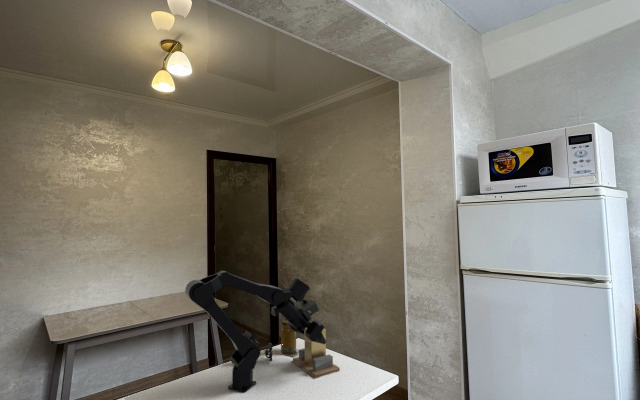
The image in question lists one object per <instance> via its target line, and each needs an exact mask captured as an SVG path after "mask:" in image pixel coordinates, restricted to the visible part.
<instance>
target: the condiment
mask: <svg viewBox="0 0 640 400" xmlns="http://www.w3.org/2000/svg"><path fill="white" fill-rule="evenodd" d="M282 344H283V345H282ZM299 350H300V349H298V348H297V332H296V331H294V330H292V329H290V328H289V327H288V326H287V325H286V320H285V319H284V320H283V321H282V322H281V329H280V350H279V351H277V352H276V354H278V355H284V356H289V357H293V358H296V357H298V356H299Z"/></svg>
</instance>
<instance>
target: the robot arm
mask: <svg viewBox="0 0 640 400" xmlns="http://www.w3.org/2000/svg"><path fill="white" fill-rule="evenodd" d="M225 286H226V287H230V288H233V289H236V290H240V291H243V292H246V293H248V294H251V295H254V296H256V297H258V298H260V299H261V300H262V301H264V302H266V303H268V304H270V305H272V306H271V311H270V314H271V315H272V316H274V317H277V316H278V315H279V314H280V316H282V317H283V318H284V320H286V325H287V326H288V327H289V328H290V329H292V330H294V331H296V333H299V334H302V335H303V336H304V337H305V336H306V337H307V338H308V339H309V340H311V341H313V342H317V343H321V344H325V343H326V344H327V339H326V340H325V338H324V336H323V334H322V330H323V329H325V325H324V324H323V323H322V322H321V321H318V320H312V321H311V319H312V316H313V315H314V314H316V313H317V312H319V311H320V307H319V306H318V303H317V301H315V300H311V299H308V300H306V299H304V298H305V297H306V296H307V294H308V293H309V292H310V291H311V288H310V286H309V284H307V283H305V282H303V281H302V280H300V278H297V277H295V278H294V279H293V281H292V283H290V285H289V286H288V288H287V289H285V288H280V287H277V286H274V285H272V284H271V285H270V284H264V283H256V282H254V281H250V280H249V279H246V278H243V277H239V276H237V275H235V274H232V273H230V272H228V271H225V270H220V271H218V272H216V273H214V274H211V275H208V276H206V277H202V278H201V279H193V280H191V281H189V282H188V283H187V284H186V287H185V289H184V292H185V295H186V296H187V297H188V298H189V299H190V300H191V302H193V303H194V304H196V305H197V306H198V307H200V308H201V309H202V310H204V311H205V312H206V313H207V314H208V315H209V316H210V318H212V320H213V321H214V322H215V323H216V324H217V325H218V327H219V328H220V329H221V330H222V331H223V332H224V333H225V335H226V336H227V337H228V338H229V339H230V340H231V342H232V344H233V347H234V349H235V350H234V352H232V354H231V355H230V356H229V360H230V362H231V364H232V365H233V367H232V369H231V371H232V373H231V374H232V375H231V376H232V377H231V380H232V381H231V382H232V384H229V385H228V387H227V388H228V390H233V391H238V392H241V393H247V391H249V390H250V389H251V388H252V387H254V386H255V385H257V380H256V381H255V380H253V379H254V375H253V373H254V372H253V371H254V370H255V367H256V364H257V360H259V358H260V352H261V350H262V349H261V347H260V345H261V343H259V342H258V341H257V340H256V339H255V337H254V336H253V335H252V334H251V333H250V332H248V331H247V330H245V331H244V333H243V332H242V331H241V330H240V329H239V327H238V326H237V325H236V324H235V323H234V322H233V321H232V319H231V318H230V317H229V316H228V315H227V314H226V312H225V311H224V310H223V309H222V308H221V307H220V305H219V304H218V303H217V302H216V299H215V297H214V293H216V292H217V291H218V290H220V289H221V288H223V287H225ZM297 303H300V306H299V307H298V306H297V305H296V304H297ZM310 321H311V322H310ZM305 328H307V330H306V331H305Z"/></svg>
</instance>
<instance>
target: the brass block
mask: <svg viewBox="0 0 640 400" xmlns="http://www.w3.org/2000/svg"><path fill="white" fill-rule="evenodd" d="M306 330H307V328H305V331H306ZM326 331H327V329H326V328H324V329H323V330H322V334H323V336H324V338H325V340H326V341H327V333H326ZM304 348H305V363H306V364H308V365H309V366H310V367H313V359H314V358H318V357H322V356H326V355H327V342H326V343H325V344H321V343H317V342H313V341H311V340H309V339H308V338H307V337H306V336H305V335H304Z"/></svg>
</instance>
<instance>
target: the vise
mask: <svg viewBox="0 0 640 400" xmlns="http://www.w3.org/2000/svg"><path fill="white" fill-rule="evenodd" d="M333 359H334V357H333V355H331V354H326V356H322V357H318V358H314V359H313V367H310V366H309V365H308V364H306V363H305V347H304V348H301V349H300V350H299V354H298V356H296V357H293V358H292V362H293V363H294V364H296V365H298V367H300V368H301V369H303V370H304V372H306V373H308V374H309V375H311V376H312V377H313V378H314V379H316V378H321V377H323V376H327V375H330V374H333V373H336V372H340V367H339V366H338V365H337V364H335V363H333V362H334V361H333Z"/></svg>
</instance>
